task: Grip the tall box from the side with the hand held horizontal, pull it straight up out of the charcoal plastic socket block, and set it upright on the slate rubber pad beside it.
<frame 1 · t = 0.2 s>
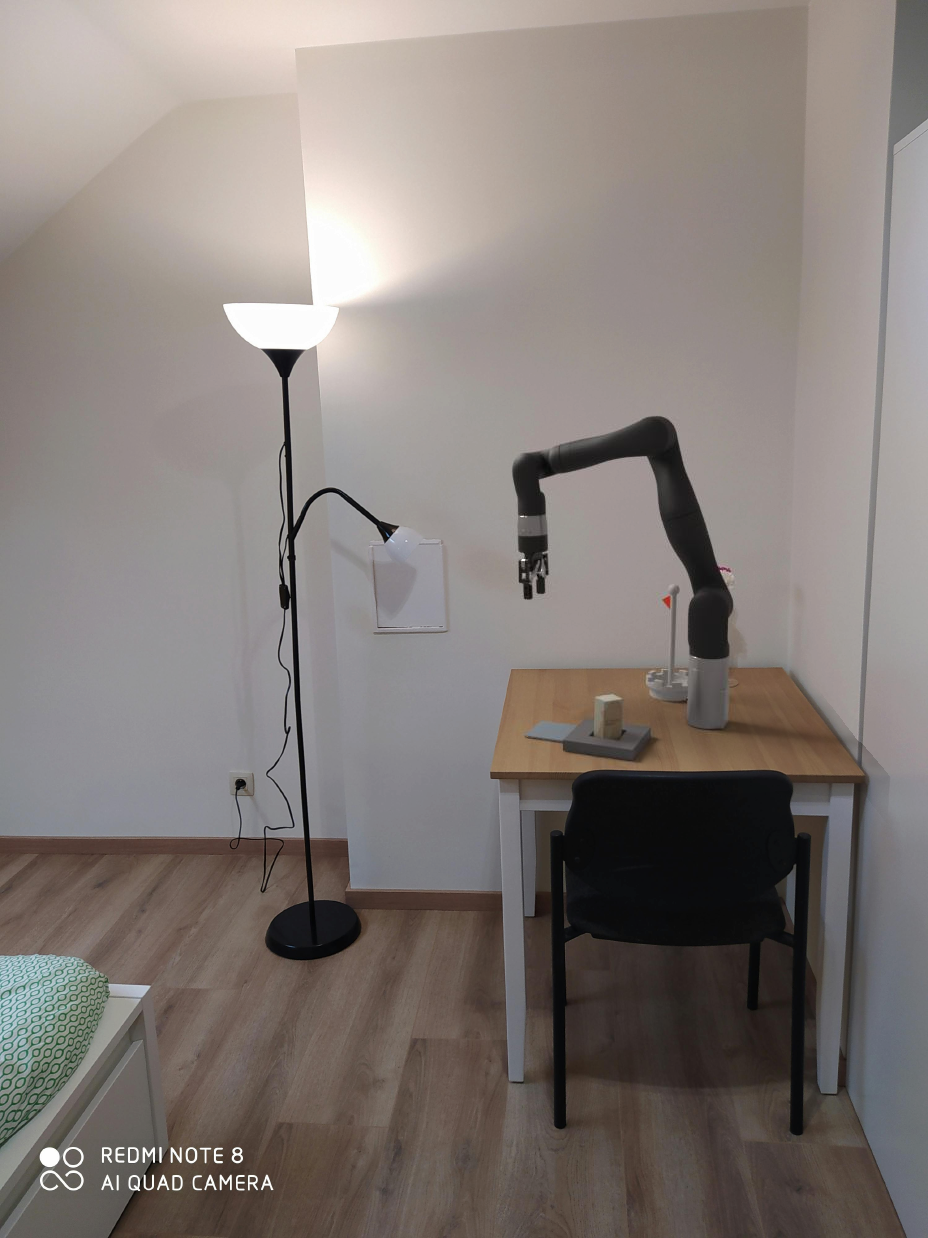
hand: (534, 596, 232), 28 cm above the table, tool pointing down, fingers open, 8 cm apart
flag stand: (670, 695, 242), on the table
box: (607, 744, 208), resting in socket block
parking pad: (552, 732, 216), on the table
socket block: (607, 743, 208), on the table
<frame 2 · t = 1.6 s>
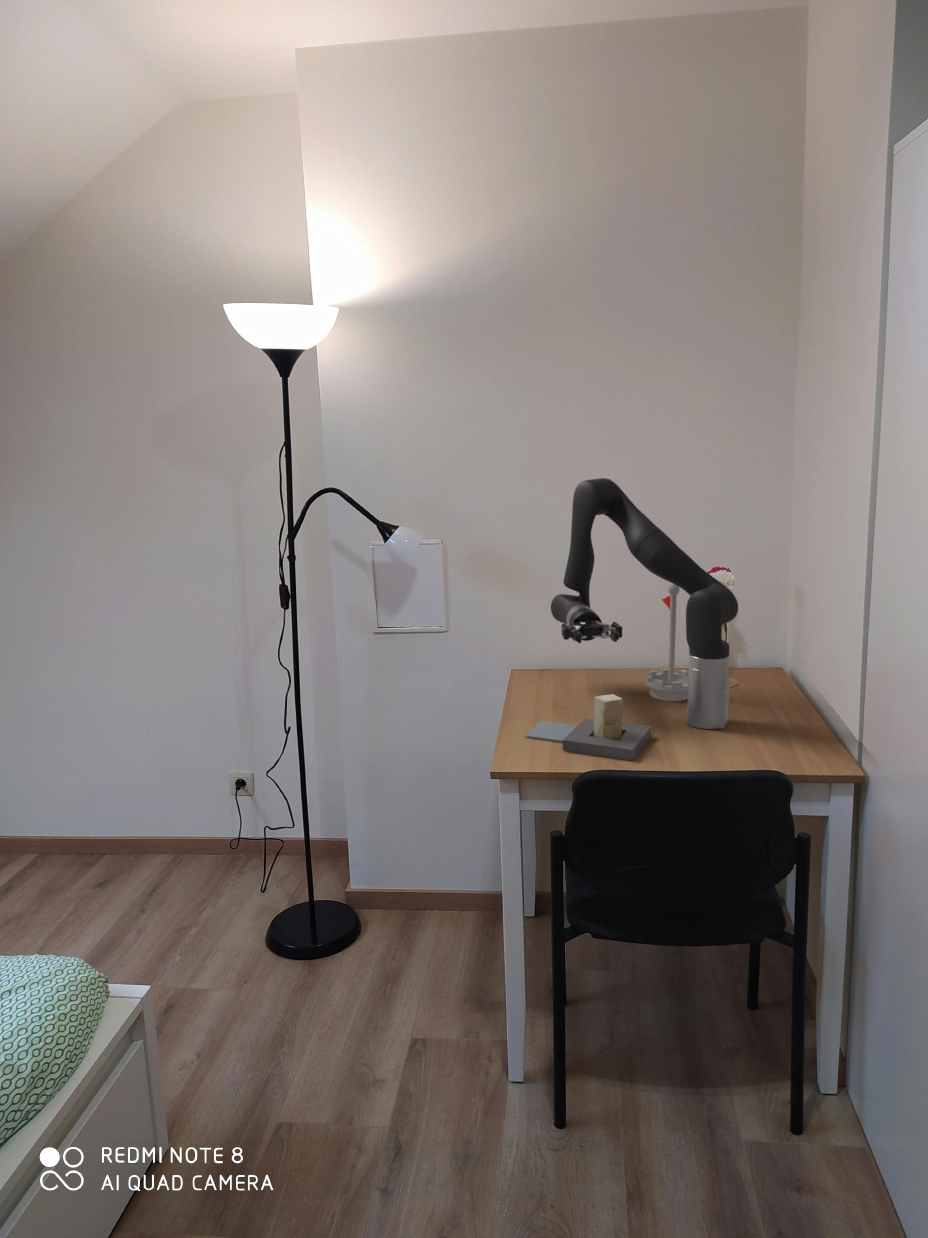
hand: (598, 638, 214), 22 cm above the table, tool horizontal, fingers open, 8 cm apart
nothing on the table moved.
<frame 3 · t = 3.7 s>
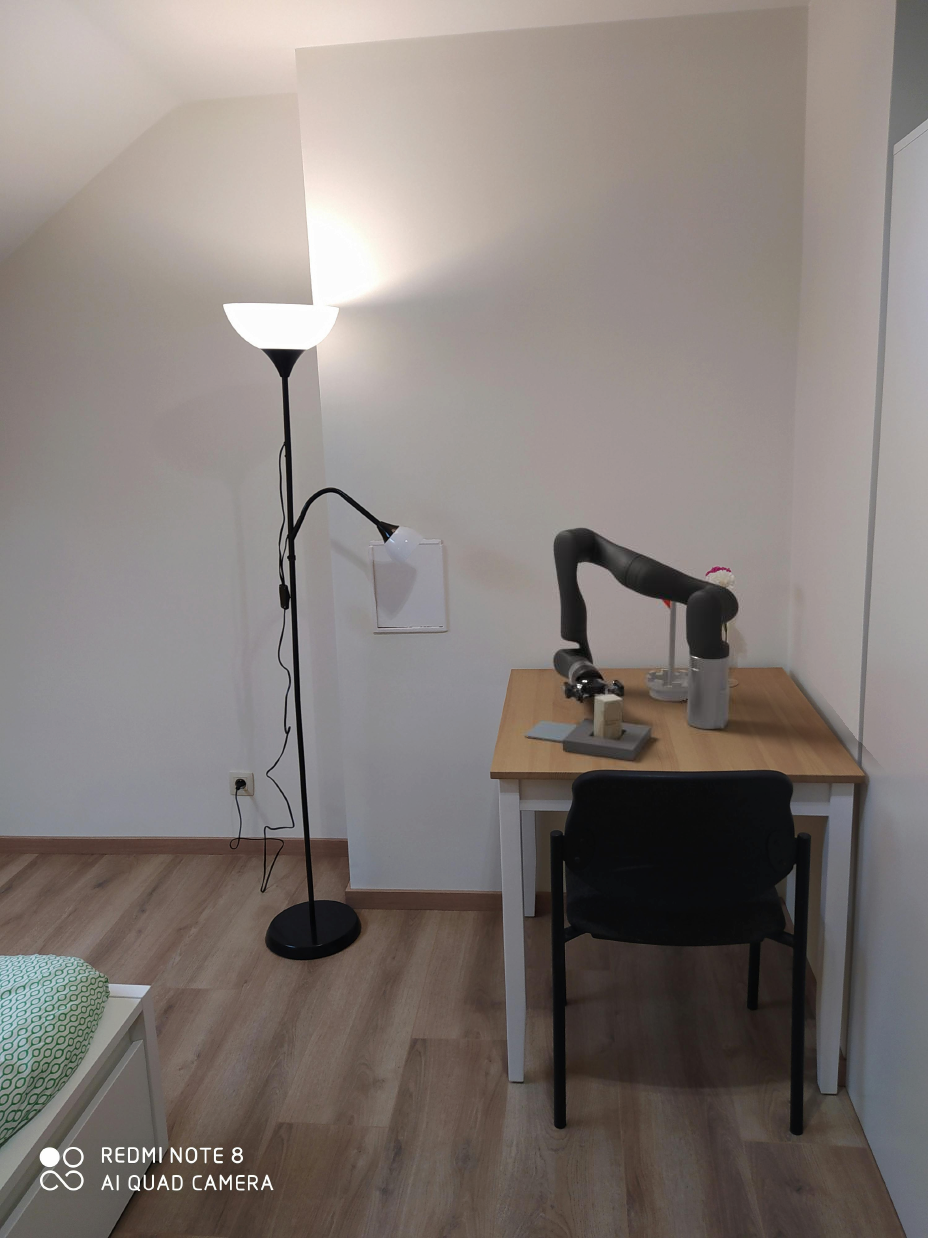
hand: (599, 698, 215), 8 cm above the table, tool horizontal, fingers open, 8 cm apart
nothing on the table moved.
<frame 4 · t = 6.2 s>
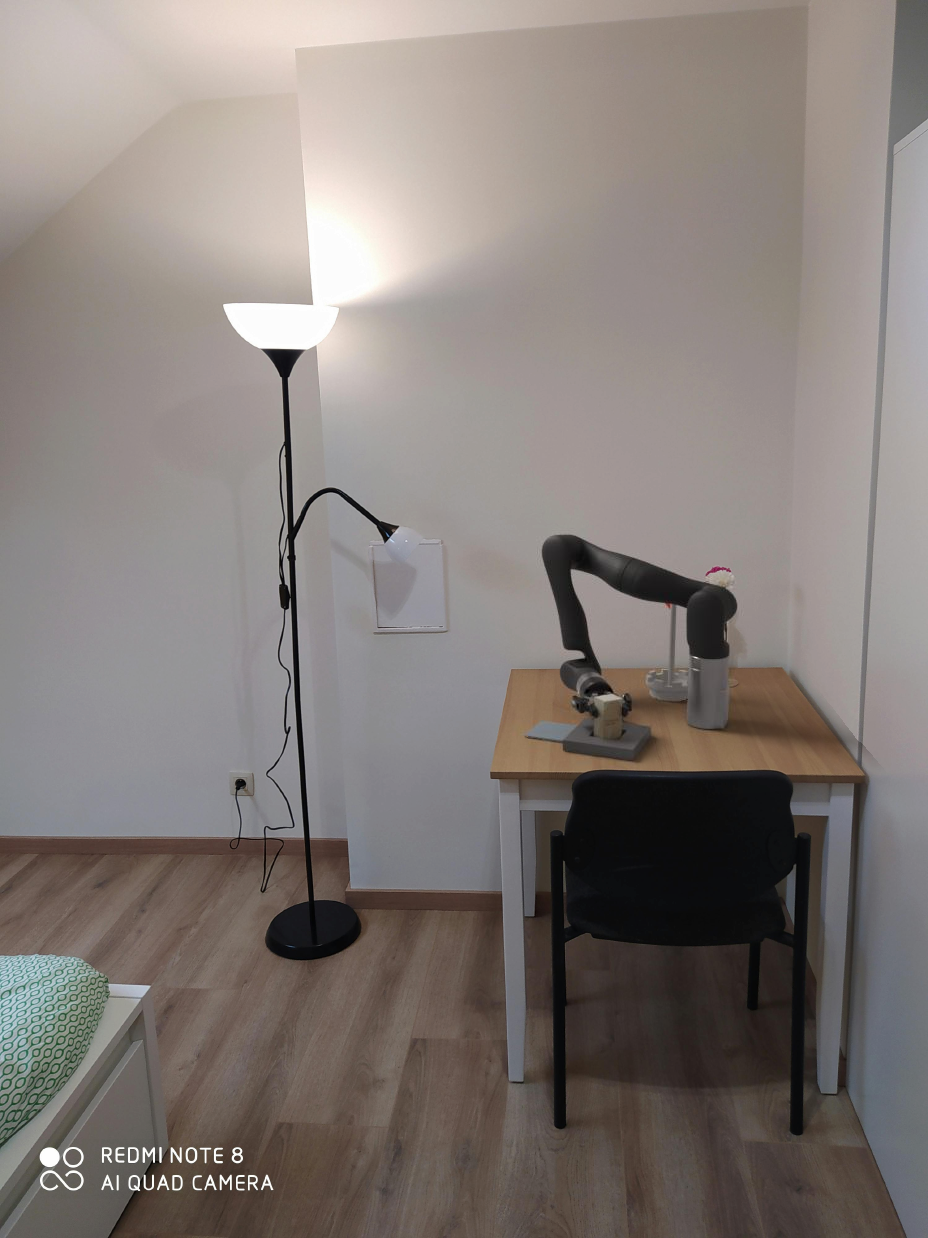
hand: (610, 713, 204), 8 cm above the table, tool horizontal, fingers closed on box, 6 cm apart
box: (607, 744, 208), resting in socket block, touching gripper
everything else where it was.
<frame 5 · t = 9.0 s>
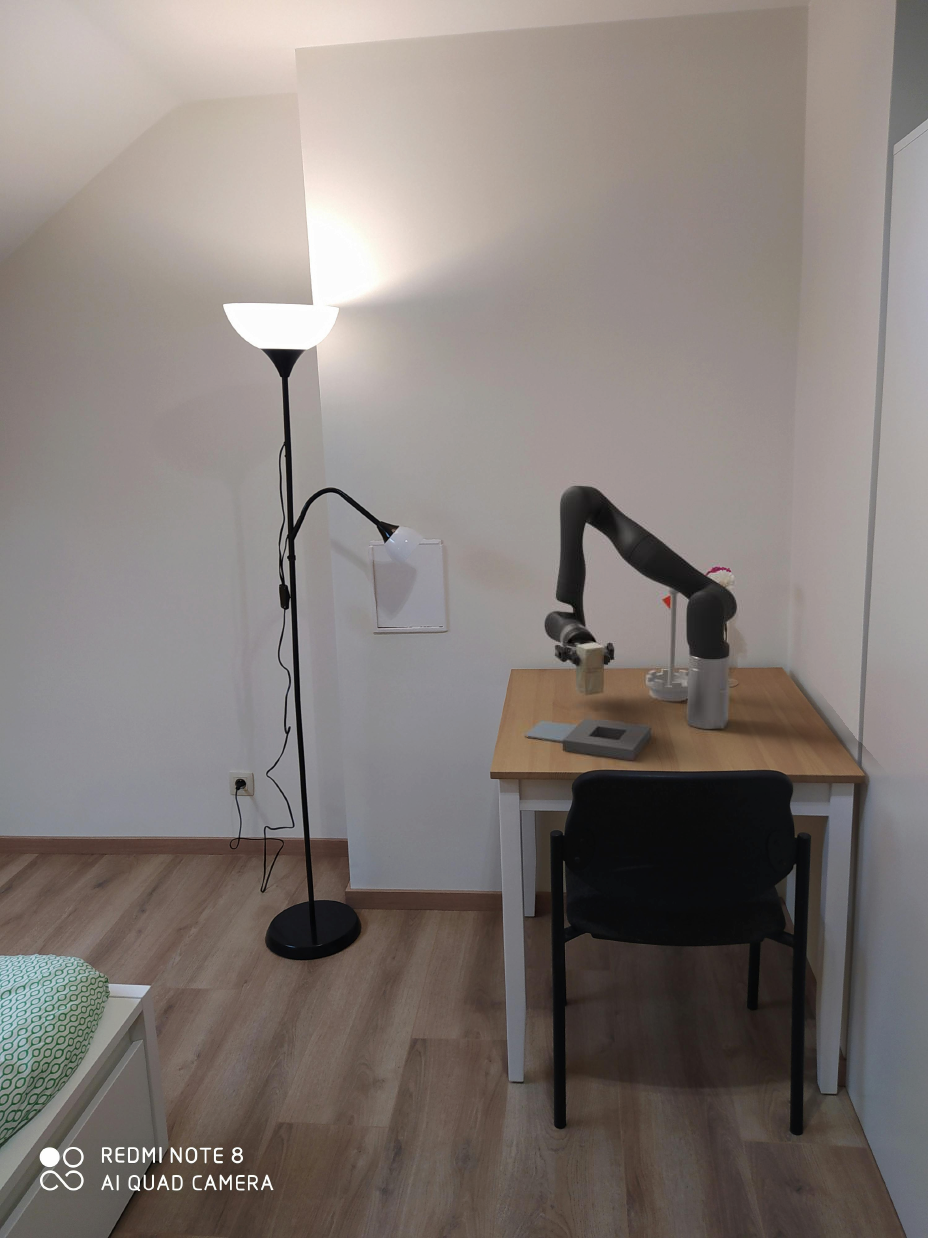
hand: (592, 661, 204), 20 cm above the table, tool horizontal, fingers closed on box, 6 cm apart
box: (589, 692, 208), point 11 cm above the table, touching gripper
everything else where it was.
when the fingers open (10 cm above the table, at t = 12.0 s): box drops 1 cm, resting on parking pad.
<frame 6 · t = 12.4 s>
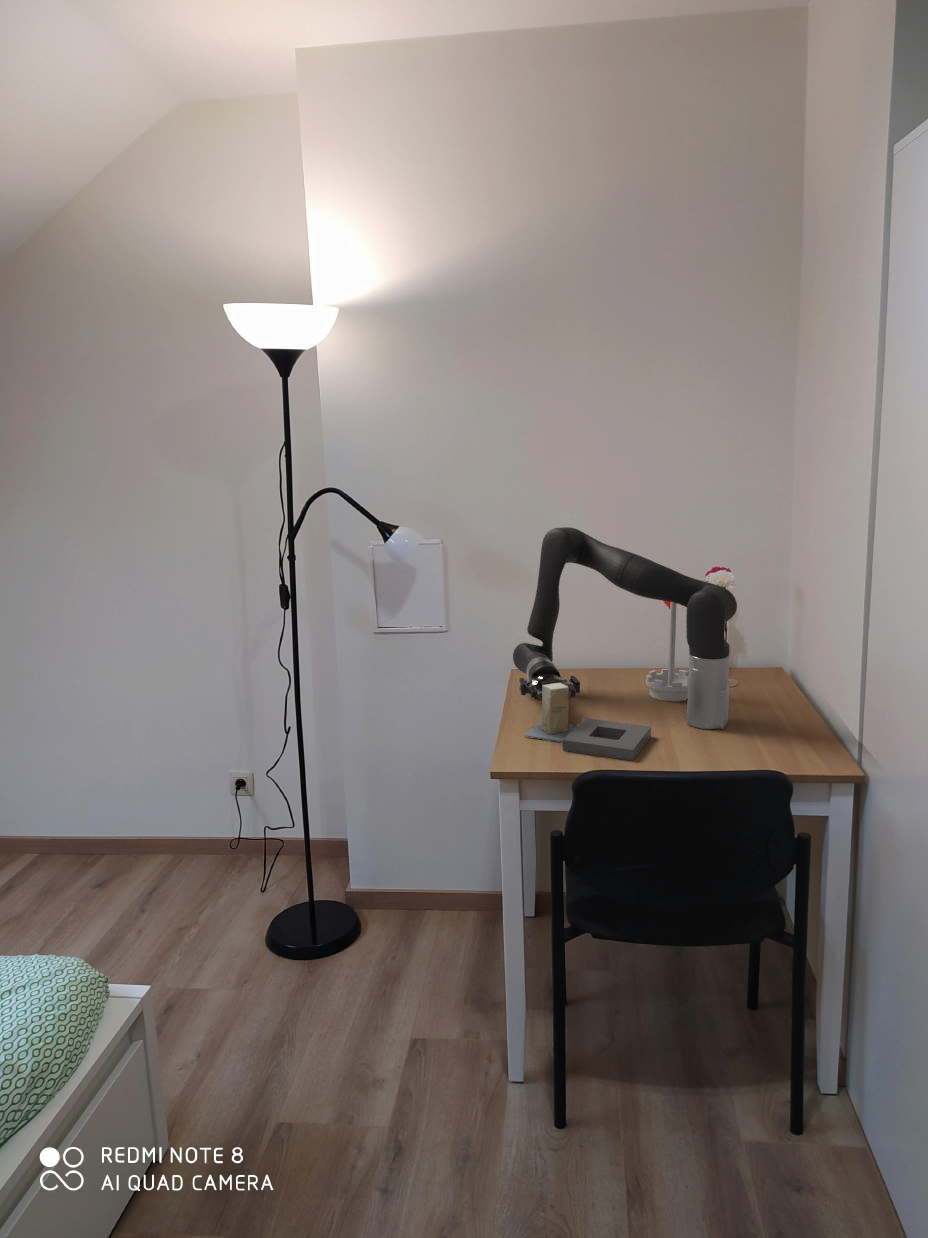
hand: (554, 694, 212), 10 cm above the table, tool horizontal, fingers open, 8 cm apart
box: (555, 731, 216), resting on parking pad
everything else where it was.
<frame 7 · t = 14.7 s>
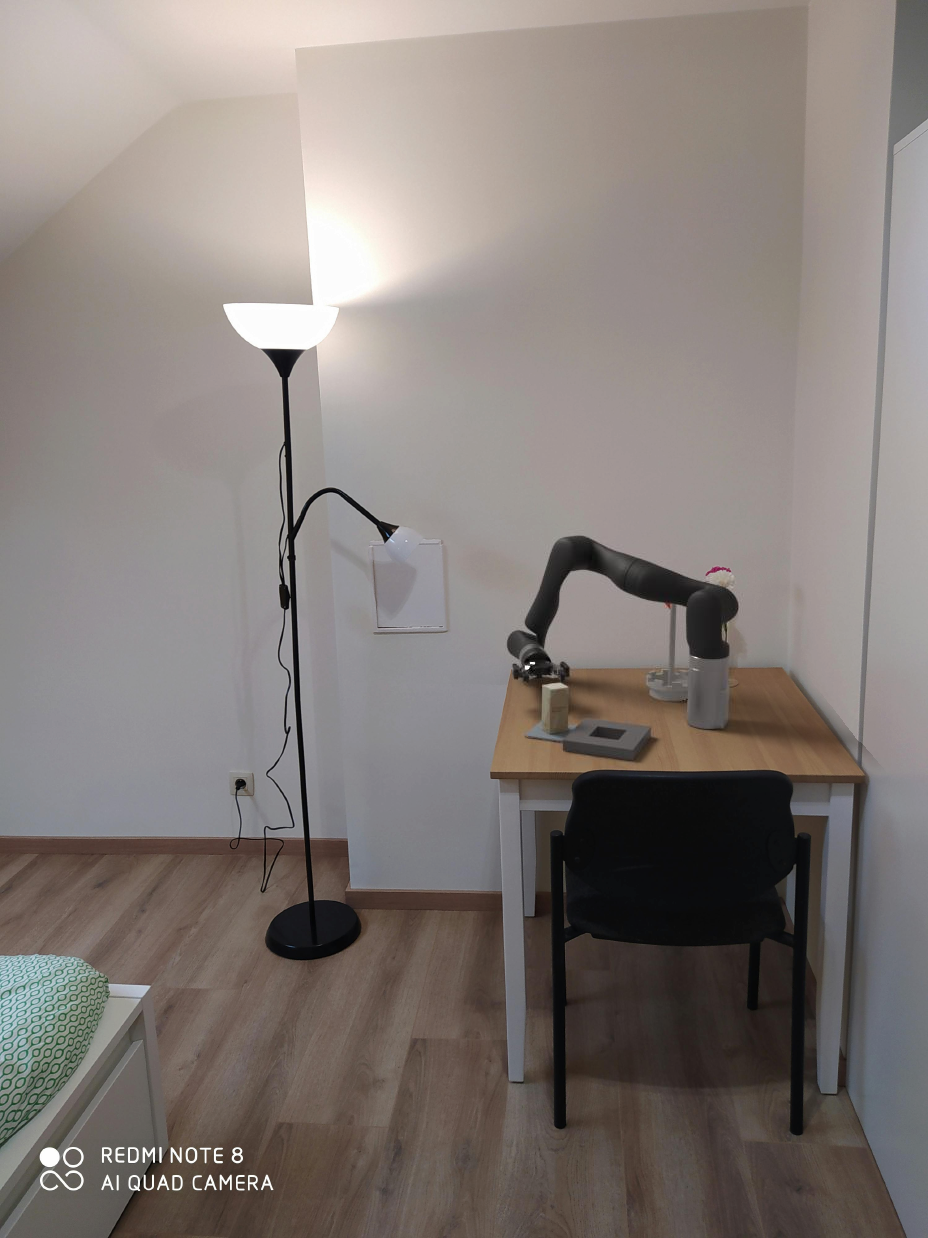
hand: (545, 678, 224), 10 cm above the table, tool horizontal, fingers open, 8 cm apart
nothing on the table moved.
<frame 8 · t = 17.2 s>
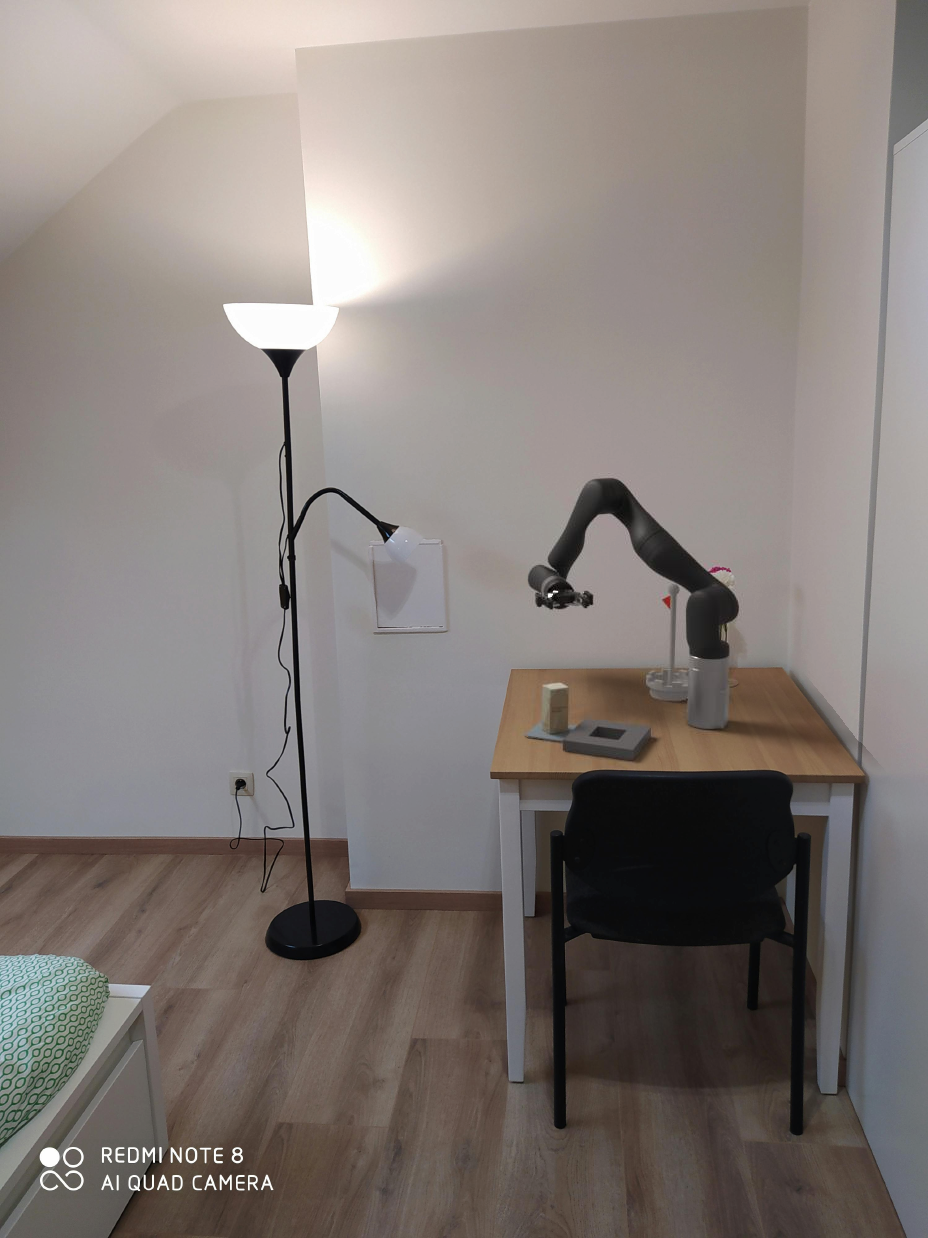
hand: (569, 604, 223), 28 cm above the table, tool horizontal, fingers open, 8 cm apart
nothing on the table moved.
at the end: box inside the target area on the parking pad (0.6 cm from its centre), point 0.3 cm above the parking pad's base; box tilted 0°; the gripper is holding nothing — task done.
